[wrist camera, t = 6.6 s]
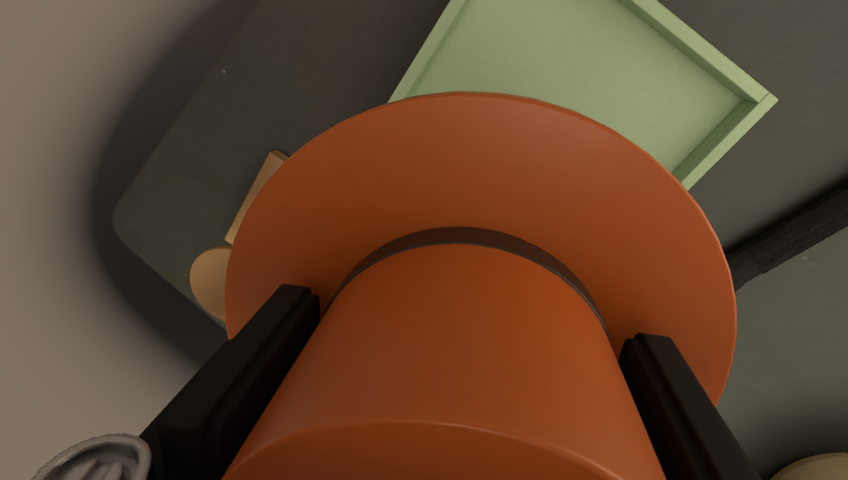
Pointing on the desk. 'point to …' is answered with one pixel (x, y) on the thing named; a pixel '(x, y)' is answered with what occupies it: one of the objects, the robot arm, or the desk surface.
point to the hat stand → (226, 249)
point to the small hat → (474, 294)
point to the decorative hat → (816, 468)
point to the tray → (598, 72)
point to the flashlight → (789, 237)
